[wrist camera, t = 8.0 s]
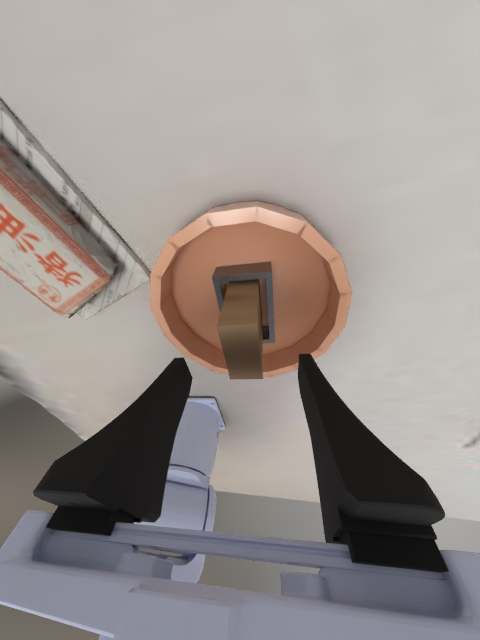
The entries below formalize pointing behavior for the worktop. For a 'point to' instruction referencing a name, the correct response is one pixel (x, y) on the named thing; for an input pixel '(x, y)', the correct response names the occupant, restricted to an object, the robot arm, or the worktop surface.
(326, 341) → the orange round shallow bowl
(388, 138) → the worktop surface
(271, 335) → the hinged hatch frame
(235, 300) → the wood hatch door
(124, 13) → the worktop surface
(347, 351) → the worktop surface
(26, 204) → the packaged product
